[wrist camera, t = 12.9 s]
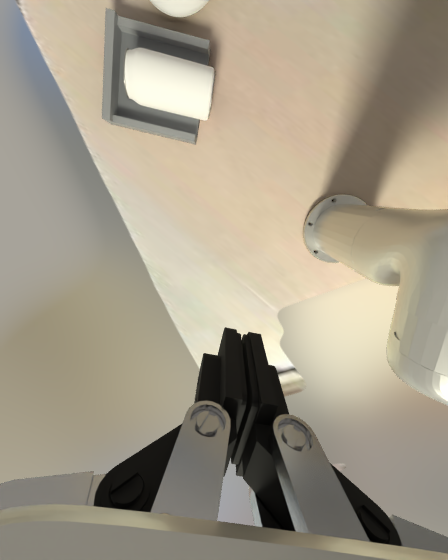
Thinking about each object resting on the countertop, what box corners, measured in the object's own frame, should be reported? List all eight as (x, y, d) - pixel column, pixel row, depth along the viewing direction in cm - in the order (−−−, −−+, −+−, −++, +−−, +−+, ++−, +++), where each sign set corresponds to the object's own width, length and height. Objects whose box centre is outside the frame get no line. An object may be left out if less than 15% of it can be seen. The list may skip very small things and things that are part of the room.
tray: (210, 50, 37) (209, 36, 33) (196, 144, 41) (193, 140, 38) (116, 25, 36) (105, 8, 32) (112, 124, 40) (101, 118, 37)
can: (211, 99, 40) (136, 80, 38) (217, 56, 34) (128, 30, 32) (207, 131, 38) (129, 113, 36) (213, 92, 32) (119, 68, 30)
